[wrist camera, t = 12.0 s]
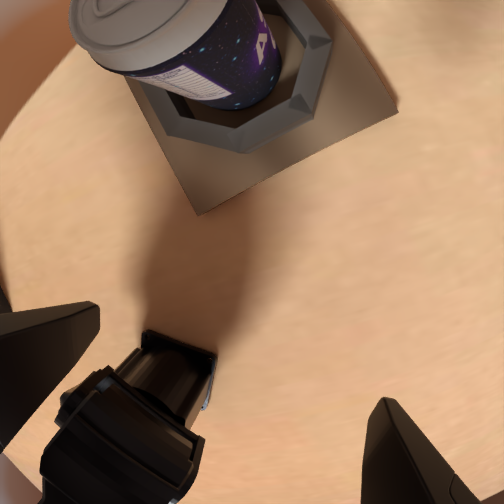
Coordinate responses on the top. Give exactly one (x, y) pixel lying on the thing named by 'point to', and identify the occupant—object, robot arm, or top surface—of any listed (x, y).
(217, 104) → the beverage can
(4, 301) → the ammunition clip
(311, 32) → the can holder
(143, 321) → the top surface
